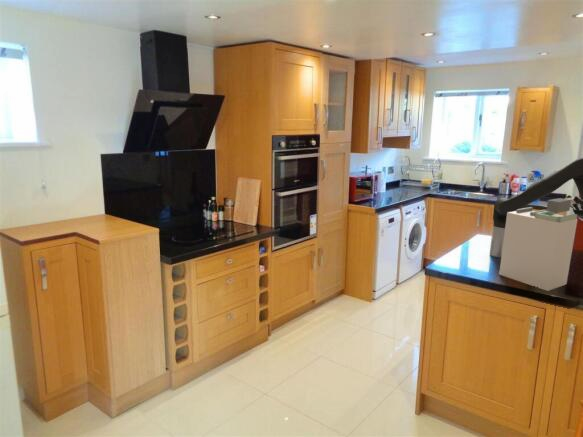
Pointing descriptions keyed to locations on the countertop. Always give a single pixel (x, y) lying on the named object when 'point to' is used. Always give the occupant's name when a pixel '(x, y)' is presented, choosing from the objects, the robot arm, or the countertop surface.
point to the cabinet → (538, 247)
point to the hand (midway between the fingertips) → (571, 197)
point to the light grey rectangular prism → (560, 204)
